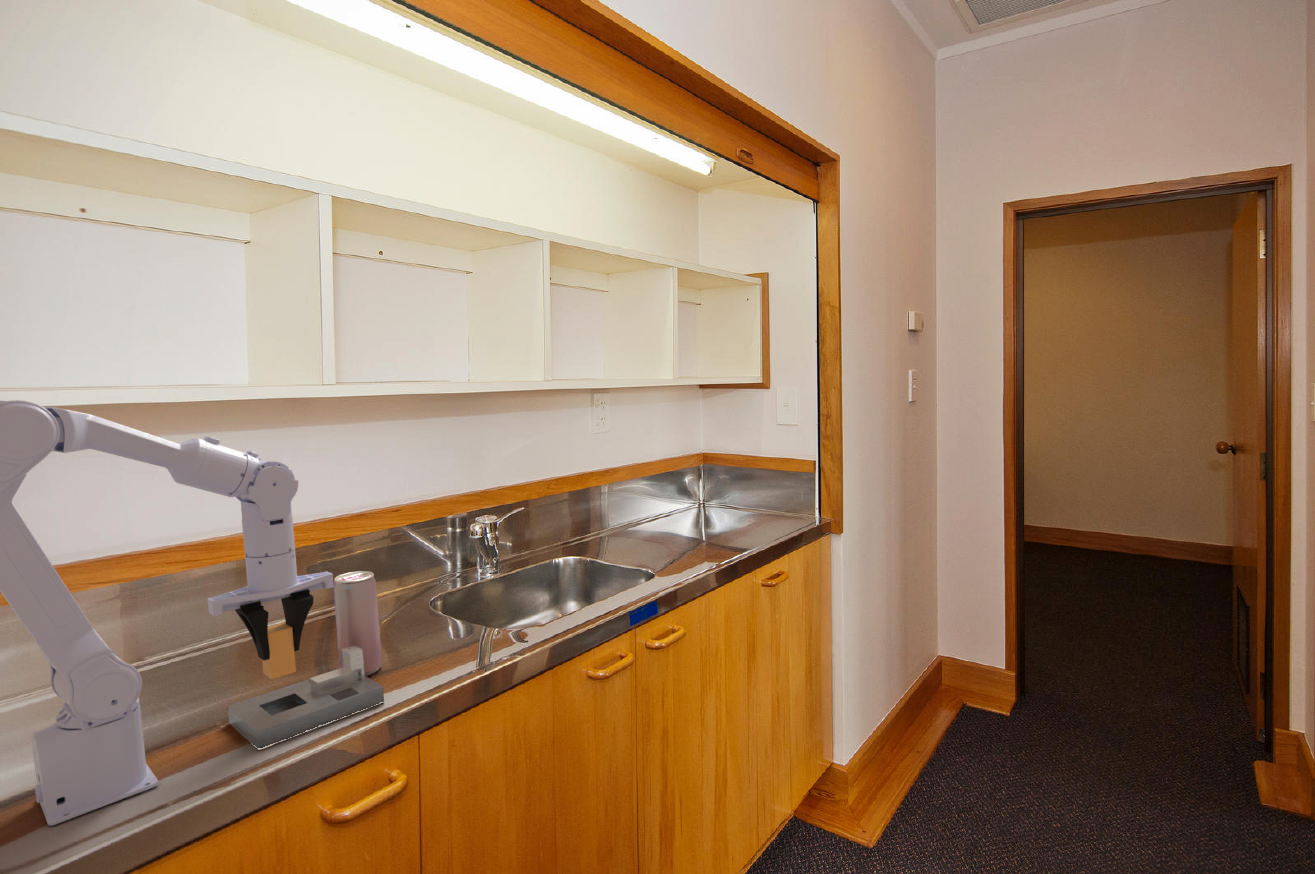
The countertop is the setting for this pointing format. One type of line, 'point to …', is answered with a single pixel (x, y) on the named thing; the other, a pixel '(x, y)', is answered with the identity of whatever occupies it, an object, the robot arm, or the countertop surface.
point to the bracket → (341, 673)
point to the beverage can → (358, 617)
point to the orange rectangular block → (280, 652)
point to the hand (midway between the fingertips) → (279, 653)
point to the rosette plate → (298, 710)
